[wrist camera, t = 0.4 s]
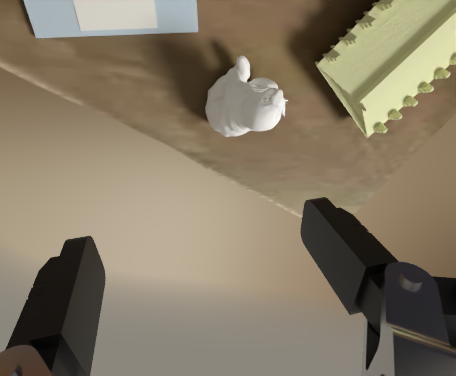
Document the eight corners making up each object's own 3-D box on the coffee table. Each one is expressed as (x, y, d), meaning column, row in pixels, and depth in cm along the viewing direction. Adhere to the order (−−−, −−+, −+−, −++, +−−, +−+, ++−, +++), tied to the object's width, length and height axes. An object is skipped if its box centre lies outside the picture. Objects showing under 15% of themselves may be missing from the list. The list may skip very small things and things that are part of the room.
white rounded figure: (191, 109, 36) (207, 146, 26) (232, 49, 33) (266, 63, 23) (230, 134, 39) (258, 176, 29) (270, 81, 36) (315, 106, 26)
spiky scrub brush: (466, -113, 31) (542, -143, 25) (491, -4, 38) (556, -7, 32) (293, 67, 36) (321, 77, 30) (343, 133, 43) (373, 152, 37)
